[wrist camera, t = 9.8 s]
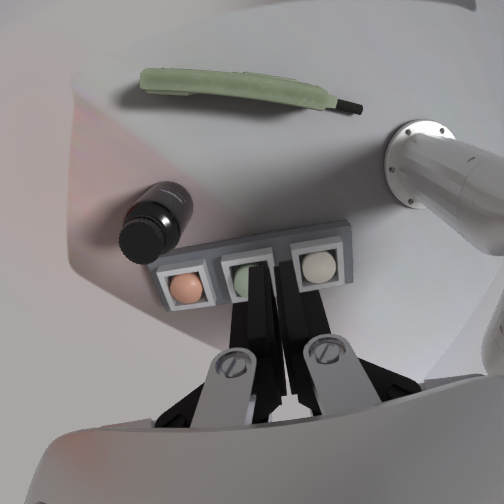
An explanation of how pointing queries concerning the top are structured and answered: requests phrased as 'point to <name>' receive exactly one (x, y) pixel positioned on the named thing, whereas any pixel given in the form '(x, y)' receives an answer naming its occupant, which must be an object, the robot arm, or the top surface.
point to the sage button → (242, 279)
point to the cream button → (318, 266)
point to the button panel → (253, 251)
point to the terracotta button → (186, 287)
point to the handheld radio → (241, 88)
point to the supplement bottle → (155, 222)
